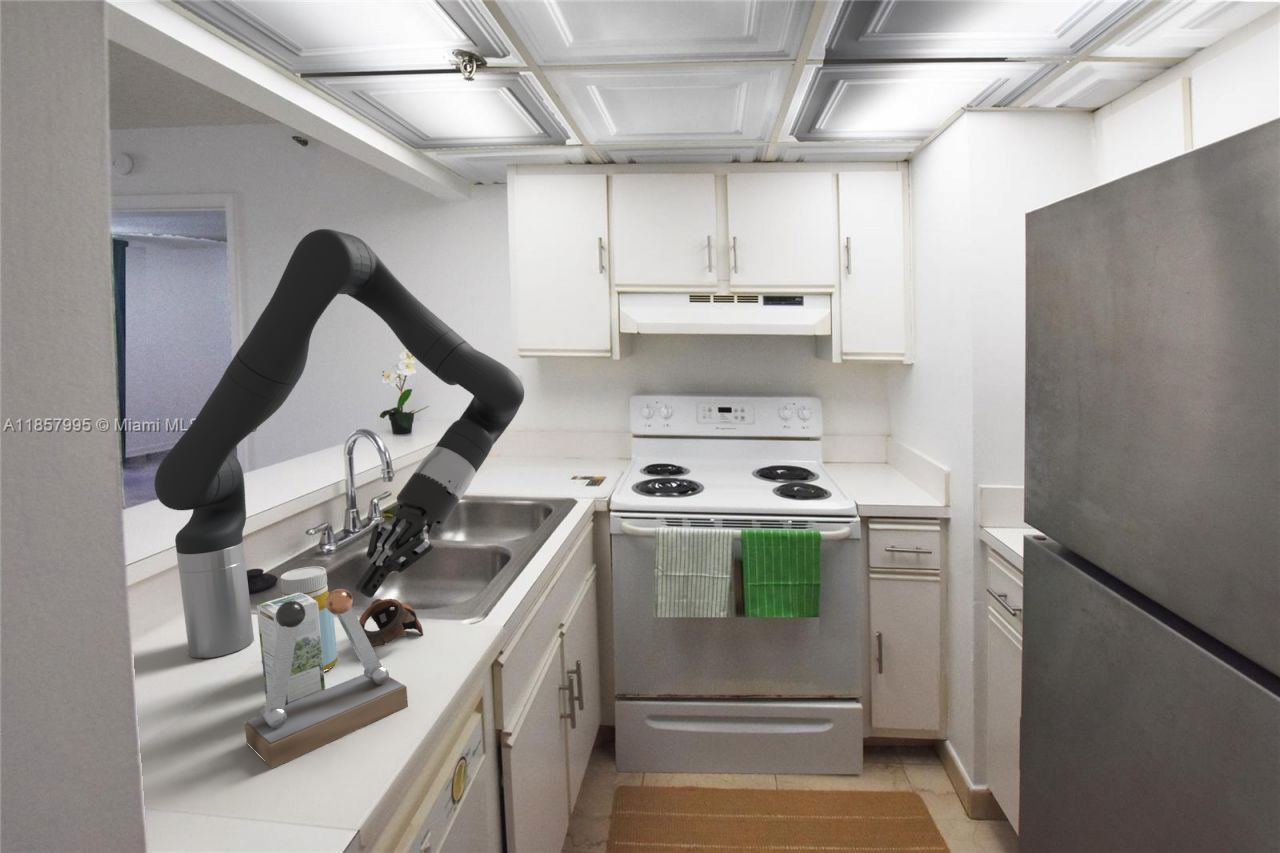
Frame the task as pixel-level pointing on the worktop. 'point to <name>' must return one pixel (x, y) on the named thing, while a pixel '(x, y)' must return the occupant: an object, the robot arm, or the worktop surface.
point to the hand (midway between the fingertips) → (362, 593)
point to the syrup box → (307, 647)
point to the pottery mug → (389, 621)
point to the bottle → (315, 586)
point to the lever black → (282, 662)
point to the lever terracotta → (356, 634)
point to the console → (325, 718)
